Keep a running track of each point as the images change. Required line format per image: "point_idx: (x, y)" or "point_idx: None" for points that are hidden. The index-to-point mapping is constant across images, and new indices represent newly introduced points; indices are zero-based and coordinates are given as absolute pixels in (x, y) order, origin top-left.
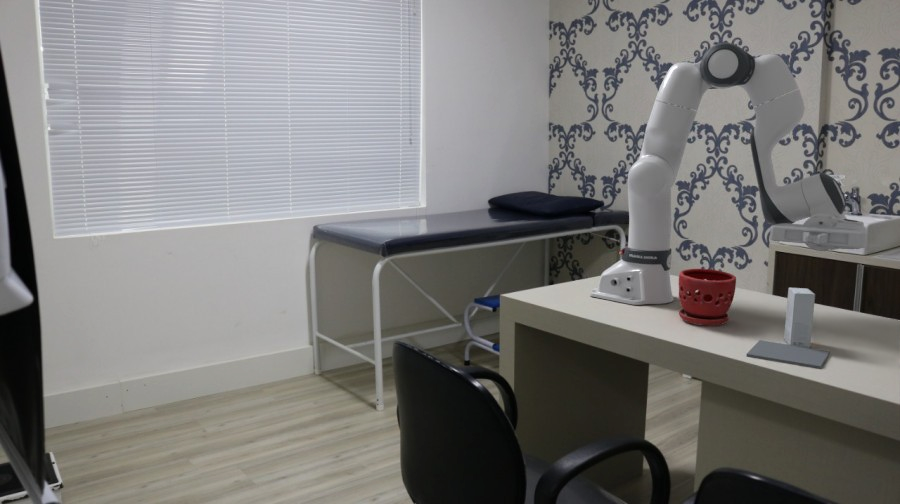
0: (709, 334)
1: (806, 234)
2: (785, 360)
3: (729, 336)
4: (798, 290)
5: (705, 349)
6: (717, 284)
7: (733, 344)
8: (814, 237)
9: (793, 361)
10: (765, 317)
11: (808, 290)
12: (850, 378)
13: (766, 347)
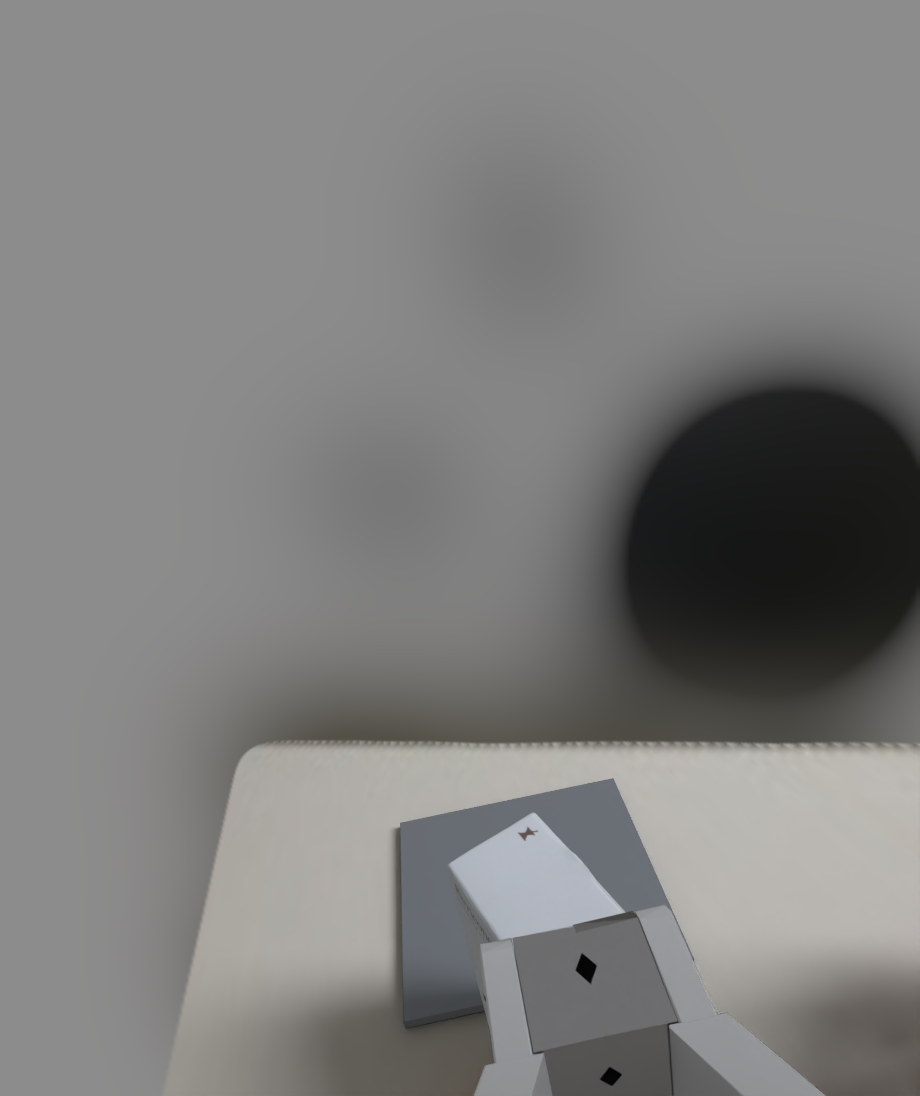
0: (913, 918)
1: (729, 1021)
2: (499, 802)
3: (842, 956)
4: (549, 881)
5: (738, 757)
6: None
7: (732, 862)
8: (548, 935)
9: (476, 808)
10: None
11: (506, 928)
12: (321, 813)
13: (610, 880)
